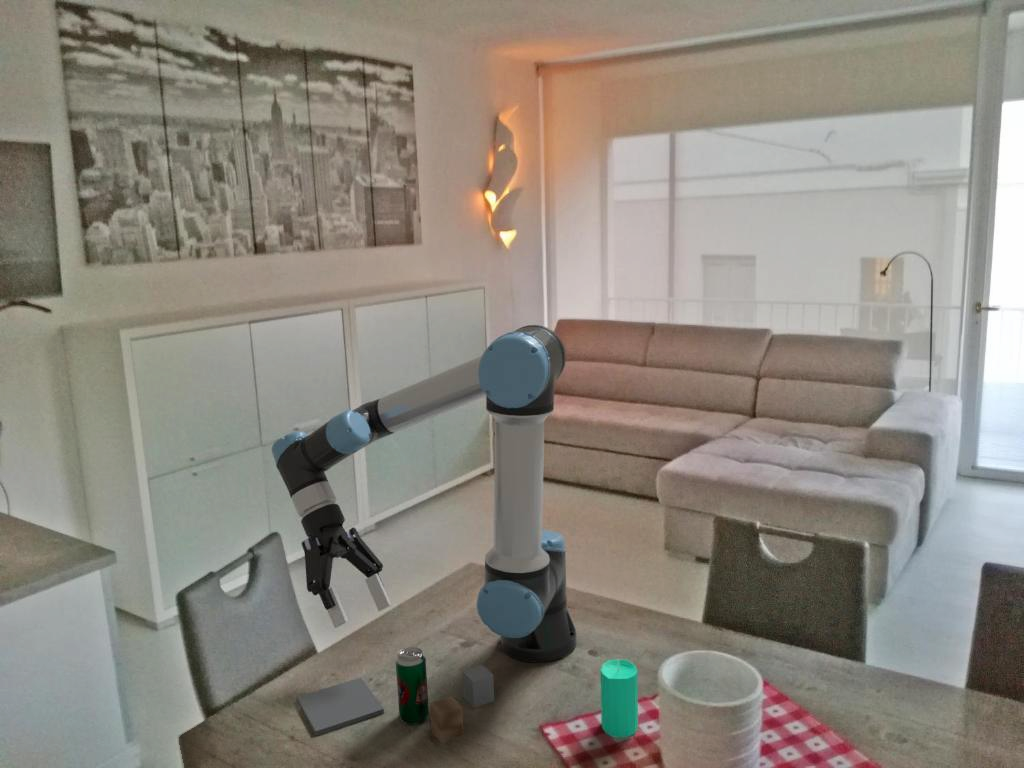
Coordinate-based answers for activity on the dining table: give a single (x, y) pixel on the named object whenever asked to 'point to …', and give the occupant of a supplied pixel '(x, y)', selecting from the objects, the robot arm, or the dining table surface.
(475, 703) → the slate grey block
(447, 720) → the walnut block
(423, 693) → the soda can
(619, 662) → the candle
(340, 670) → the dining table surface
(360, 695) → the grey square plate
